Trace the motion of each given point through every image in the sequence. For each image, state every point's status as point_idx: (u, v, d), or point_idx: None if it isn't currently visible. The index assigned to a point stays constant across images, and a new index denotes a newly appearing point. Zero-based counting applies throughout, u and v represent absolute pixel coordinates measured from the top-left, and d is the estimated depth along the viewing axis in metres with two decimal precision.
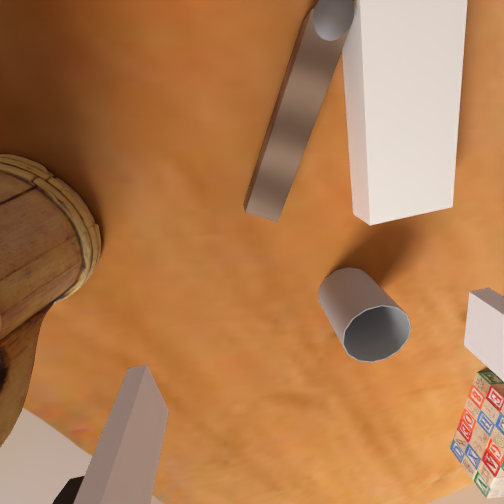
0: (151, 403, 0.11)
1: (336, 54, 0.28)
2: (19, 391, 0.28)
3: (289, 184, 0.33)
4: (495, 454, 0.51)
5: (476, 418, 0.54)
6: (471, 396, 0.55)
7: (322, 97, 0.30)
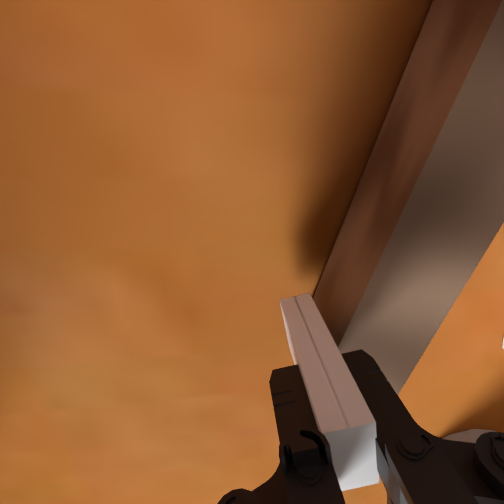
0: None
1: None
2: None
3: (423, 343, 0.13)
4: None
5: None
6: None
7: None
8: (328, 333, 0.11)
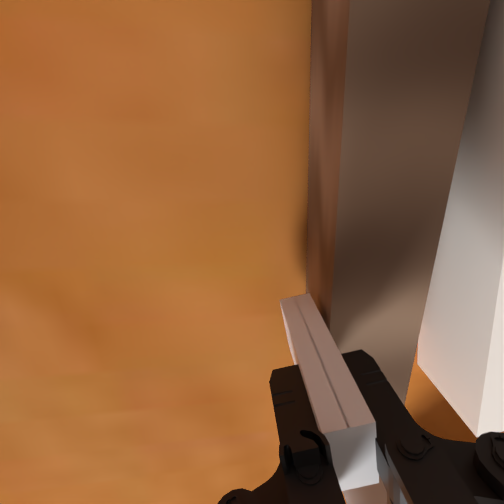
0: None
1: (478, 3, 0.08)
2: None
3: (408, 361, 0.13)
4: None
5: None
6: None
7: (453, 148, 0.10)
8: (328, 333, 0.11)
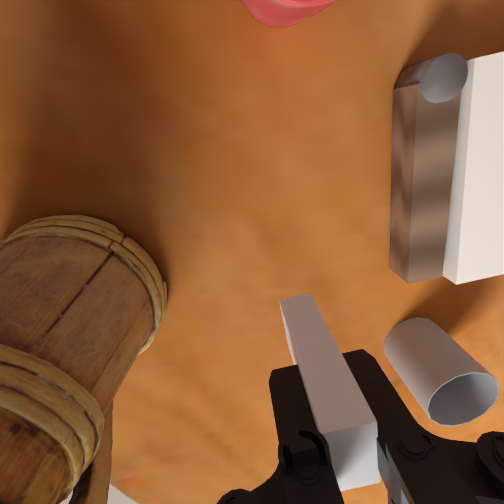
0: None
1: (456, 108, 0.26)
2: (104, 480, 0.26)
3: (443, 240, 0.31)
4: None
5: None
6: None
7: (453, 151, 0.28)
8: (329, 333, 0.11)
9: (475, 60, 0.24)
